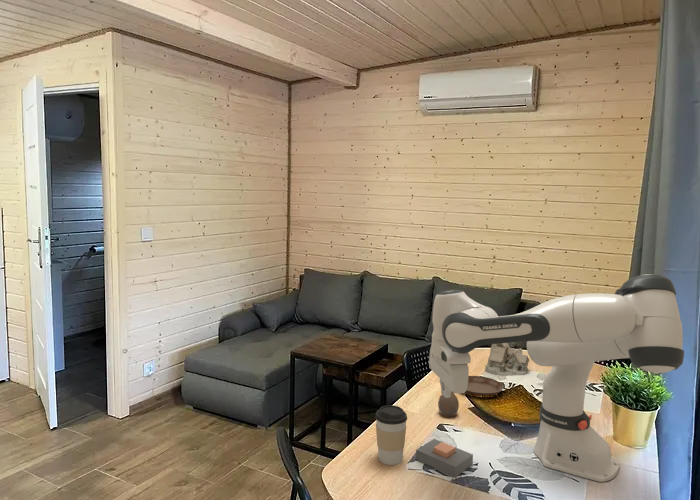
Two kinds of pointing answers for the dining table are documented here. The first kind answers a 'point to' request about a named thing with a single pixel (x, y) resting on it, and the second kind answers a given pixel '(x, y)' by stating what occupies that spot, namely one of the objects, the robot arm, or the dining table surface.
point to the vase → (448, 405)
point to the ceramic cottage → (506, 361)
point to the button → (444, 450)
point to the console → (444, 459)
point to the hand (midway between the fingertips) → (445, 395)
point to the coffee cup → (390, 434)
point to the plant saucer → (483, 386)
